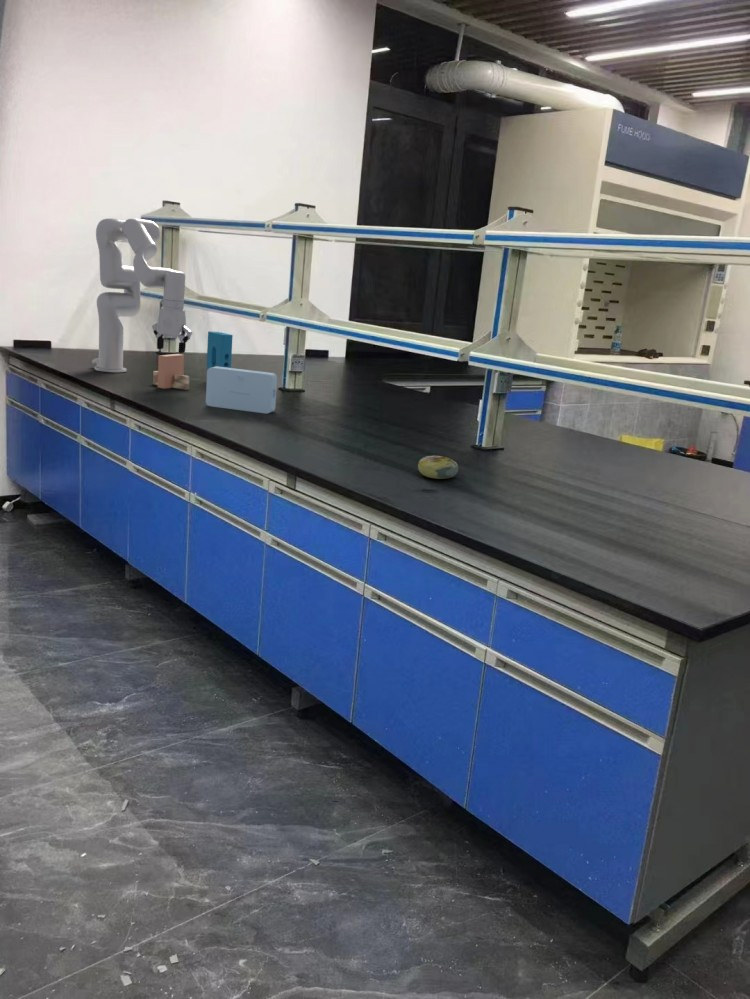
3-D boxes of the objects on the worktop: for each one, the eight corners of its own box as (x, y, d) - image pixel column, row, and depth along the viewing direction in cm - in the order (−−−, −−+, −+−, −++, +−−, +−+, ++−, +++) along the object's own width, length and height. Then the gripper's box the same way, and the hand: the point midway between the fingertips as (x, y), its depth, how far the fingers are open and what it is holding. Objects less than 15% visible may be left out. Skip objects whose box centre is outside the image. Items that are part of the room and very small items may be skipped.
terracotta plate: (157, 387, 320) (158, 355, 317) (176, 384, 331) (177, 353, 328) (164, 388, 319) (165, 356, 316) (183, 385, 330) (184, 354, 327)
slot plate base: (153, 384, 327) (153, 371, 325) (155, 383, 328) (156, 370, 327) (186, 389, 322) (186, 376, 320) (188, 389, 323) (189, 376, 322)
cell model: (414, 471, 215) (418, 441, 226) (418, 495, 219) (422, 464, 231) (455, 468, 213) (457, 437, 224) (458, 492, 217) (460, 461, 229)
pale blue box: (204, 406, 291) (206, 367, 288) (210, 404, 297) (212, 365, 293) (269, 414, 288) (272, 375, 284) (274, 412, 293) (277, 373, 290)
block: (230, 385, 344) (233, 335, 339) (220, 385, 341) (222, 334, 336) (215, 380, 353) (218, 331, 348) (205, 380, 350) (207, 331, 344)
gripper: (147, 301, 317) (145, 347, 321) (187, 308, 311) (184, 355, 316) (160, 301, 323) (157, 346, 328) (198, 308, 318) (195, 353, 323)
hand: (170, 350), depth 322 cm, fingers open, 9 cm apart
